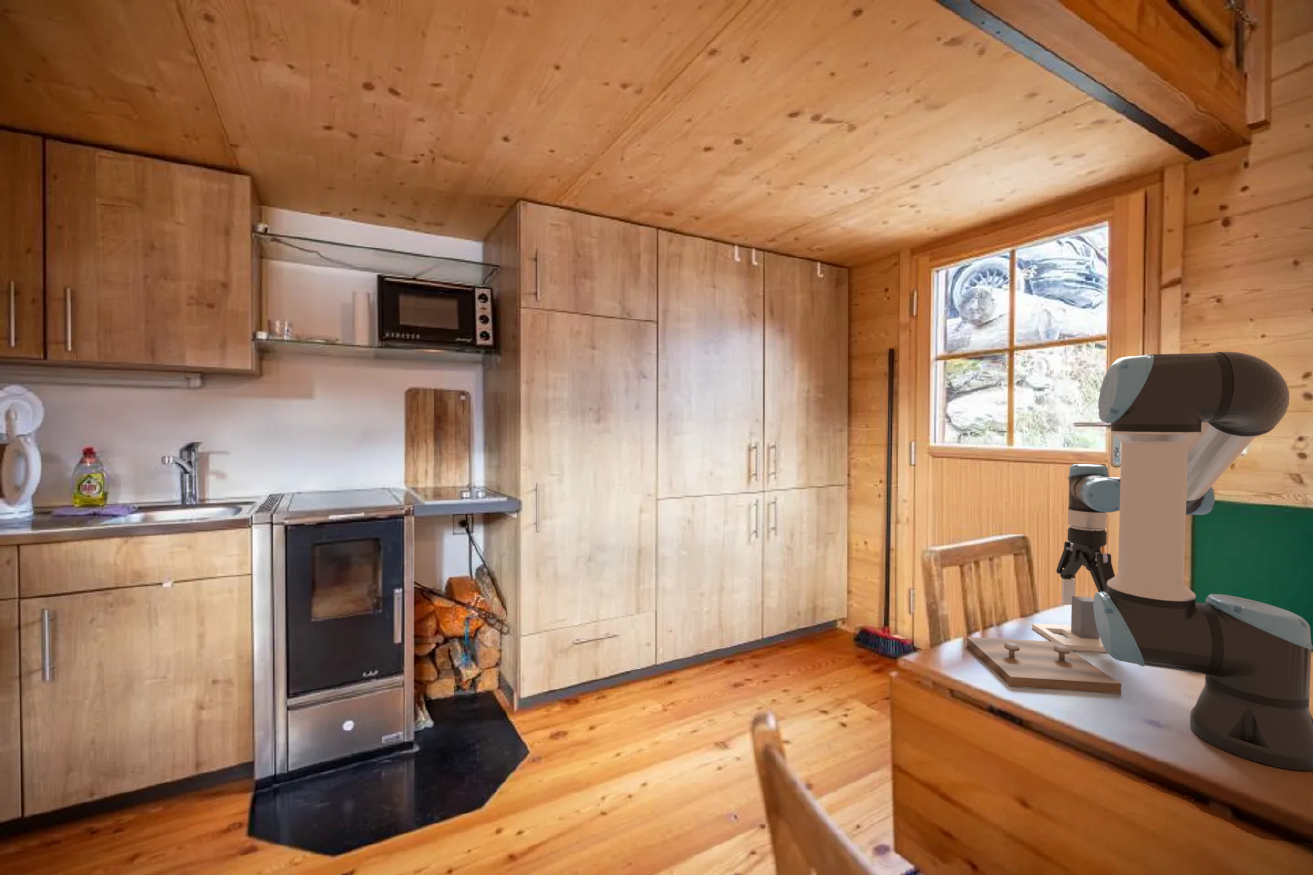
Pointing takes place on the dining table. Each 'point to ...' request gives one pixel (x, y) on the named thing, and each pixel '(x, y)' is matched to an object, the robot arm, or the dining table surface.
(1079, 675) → the board
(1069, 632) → the panel
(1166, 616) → the robot arm
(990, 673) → the dining table surface
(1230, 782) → the dining table surface
